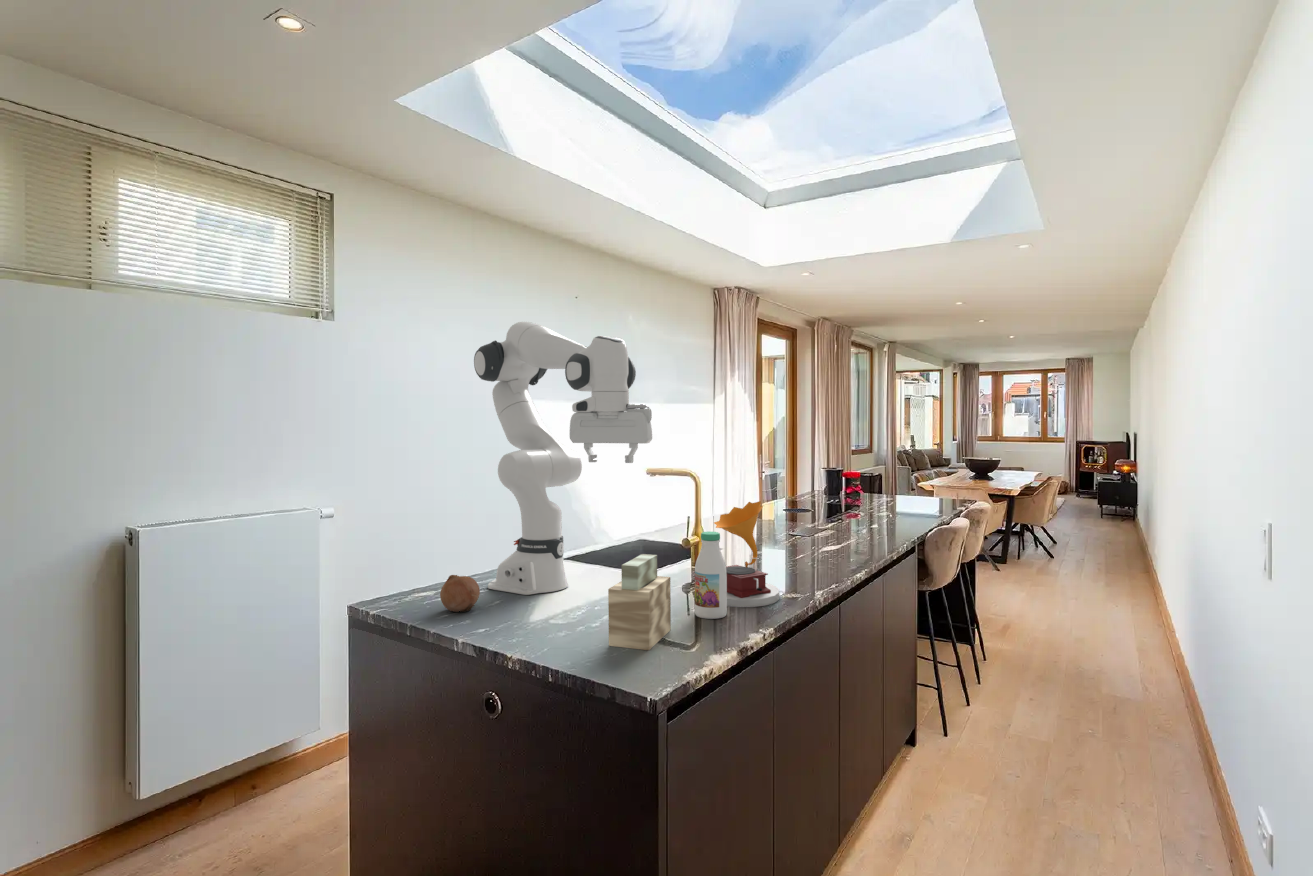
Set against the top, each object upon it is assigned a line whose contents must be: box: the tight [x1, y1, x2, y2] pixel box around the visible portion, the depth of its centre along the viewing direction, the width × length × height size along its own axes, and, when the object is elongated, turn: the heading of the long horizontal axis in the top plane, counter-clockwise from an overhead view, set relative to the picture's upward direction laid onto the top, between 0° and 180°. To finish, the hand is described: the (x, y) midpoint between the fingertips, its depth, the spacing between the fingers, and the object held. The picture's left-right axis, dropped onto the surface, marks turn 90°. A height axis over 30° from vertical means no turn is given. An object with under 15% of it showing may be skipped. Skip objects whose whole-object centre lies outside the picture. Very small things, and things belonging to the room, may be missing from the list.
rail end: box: [620, 553, 658, 590], centre depth 149 cm, size 12×4×9 cm, turn 160°
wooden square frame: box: [607, 575, 672, 651], centre depth 149 cm, size 14×9×12 cm, turn 160°
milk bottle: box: [694, 531, 728, 620], centre depth 165 cm, size 8×8×20 cm
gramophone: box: [713, 501, 780, 608], centre depth 182 cm, size 20×20×25 cm
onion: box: [439, 574, 481, 613], centre depth 171 cm, size 10×9×10 cm
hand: (610, 462), depth 163 cm, fingers open, 8 cm apart
